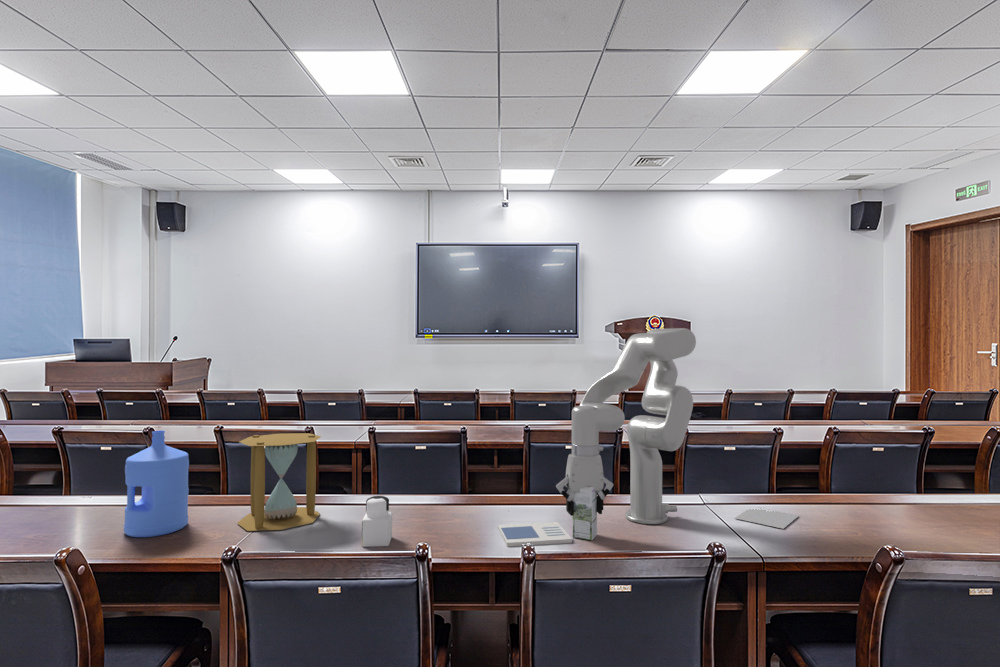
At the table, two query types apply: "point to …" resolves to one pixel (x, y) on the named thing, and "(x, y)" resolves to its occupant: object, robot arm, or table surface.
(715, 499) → the table surface
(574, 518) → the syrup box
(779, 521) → the paper stack
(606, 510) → the table surface
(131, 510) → the water jug
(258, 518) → the hourglass
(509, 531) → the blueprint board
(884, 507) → the table surface
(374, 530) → the medicine bottle
